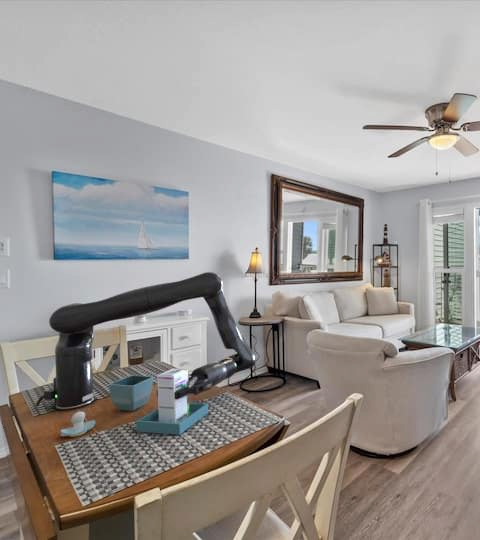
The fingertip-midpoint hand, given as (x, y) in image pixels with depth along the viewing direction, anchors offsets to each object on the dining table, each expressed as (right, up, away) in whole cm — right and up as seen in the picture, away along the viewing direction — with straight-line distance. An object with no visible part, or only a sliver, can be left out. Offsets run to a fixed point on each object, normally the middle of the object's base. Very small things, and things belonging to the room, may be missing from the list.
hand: (166, 394), depth 95 cm
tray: (+1, -9, +2) cm, 9 cm away
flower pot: (-18, -9, +12) cm, 24 cm away
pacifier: (-22, -9, -4) cm, 25 cm away
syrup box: (+1, -9, +2) cm, 9 cm away
